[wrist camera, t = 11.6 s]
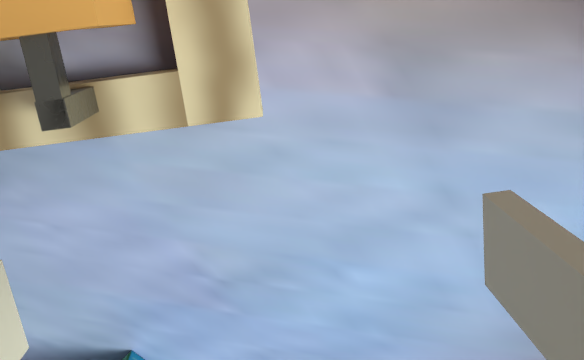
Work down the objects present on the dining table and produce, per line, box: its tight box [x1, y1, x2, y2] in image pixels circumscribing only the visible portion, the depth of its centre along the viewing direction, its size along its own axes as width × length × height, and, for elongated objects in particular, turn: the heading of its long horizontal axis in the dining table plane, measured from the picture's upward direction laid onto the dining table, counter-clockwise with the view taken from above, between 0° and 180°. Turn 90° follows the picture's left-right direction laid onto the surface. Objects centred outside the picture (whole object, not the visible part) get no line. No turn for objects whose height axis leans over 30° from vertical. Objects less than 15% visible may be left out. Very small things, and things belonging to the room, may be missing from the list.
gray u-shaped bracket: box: [19, 32, 99, 131], centre depth 36 cm, size 2×14×9 cm, turn 7°
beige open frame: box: [0, 0, 263, 151], centre depth 38 cm, size 25×18×3 cm
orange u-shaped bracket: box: [0, 0, 136, 41], centre depth 33 cm, size 9×3×9 cm, turn 97°
